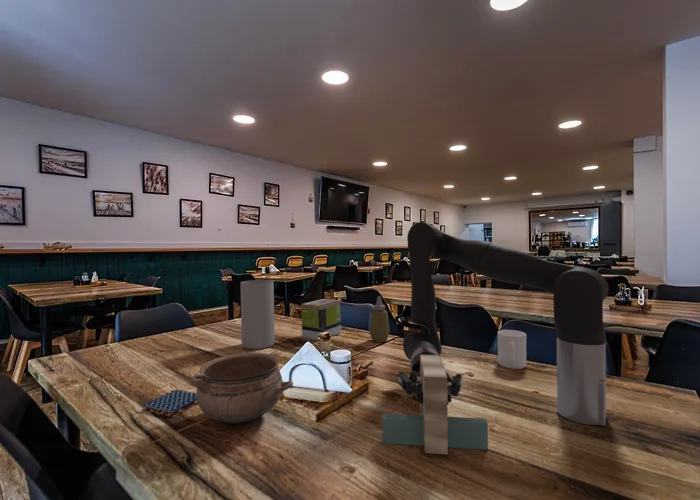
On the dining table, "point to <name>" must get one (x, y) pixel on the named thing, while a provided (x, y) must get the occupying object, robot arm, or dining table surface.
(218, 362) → the cooking pot
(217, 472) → the dining table surface
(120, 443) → the dining table surface
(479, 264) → the robot arm
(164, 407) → the woven mat
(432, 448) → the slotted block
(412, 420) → the rail
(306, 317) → the tea box
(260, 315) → the cylinder vase
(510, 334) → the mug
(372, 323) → the squeeze bottle
